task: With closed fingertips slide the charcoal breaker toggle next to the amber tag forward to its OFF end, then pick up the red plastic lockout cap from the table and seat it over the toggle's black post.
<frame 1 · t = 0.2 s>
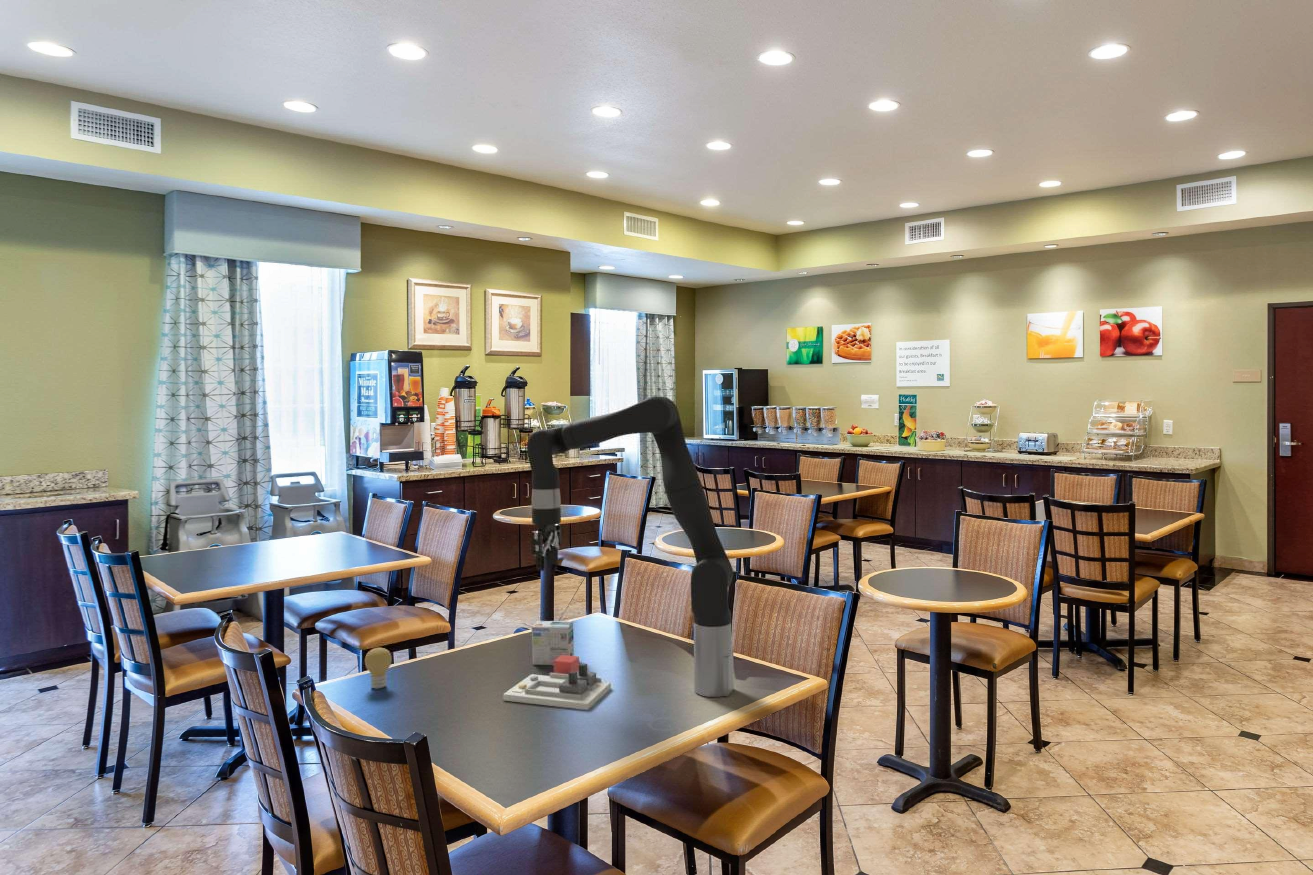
hand: (547, 567, 211), 29 cm above the table, fingers open, 8 cm apart
light bulb box: (553, 662, 223), on the table
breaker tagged: (572, 682, 194), point 4 cm above the table, slide at 0.0 cm
light bulb: (378, 687, 204), on the table
lockout cap: (566, 677, 210), on the table
panel: (558, 694, 198), on the table
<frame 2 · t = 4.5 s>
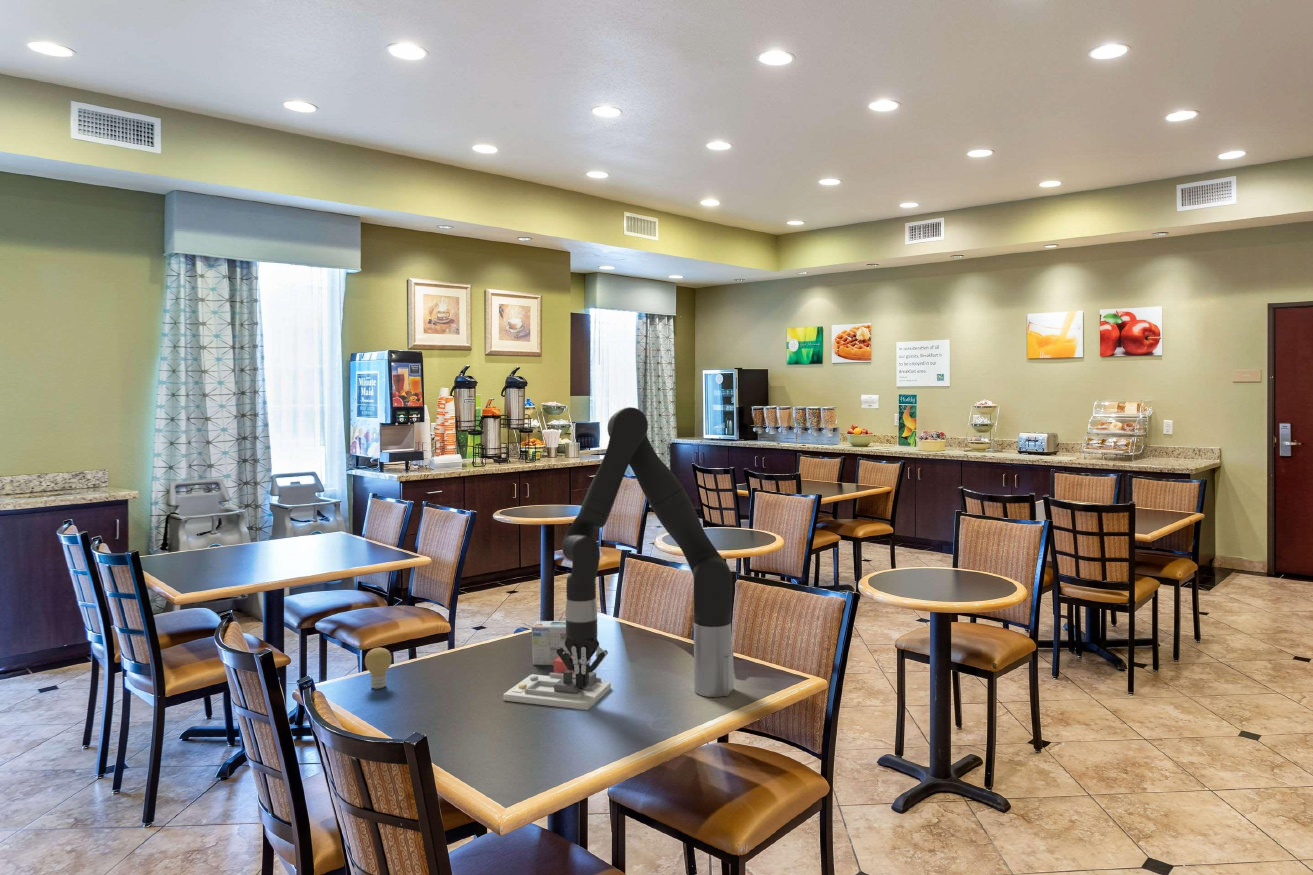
hand: (582, 687, 193), 3 cm above the table, fingers closed
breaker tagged: (567, 681, 195), point 4 cm above the table, slide at 1.4 cm, touching gripper
everything else where it was.
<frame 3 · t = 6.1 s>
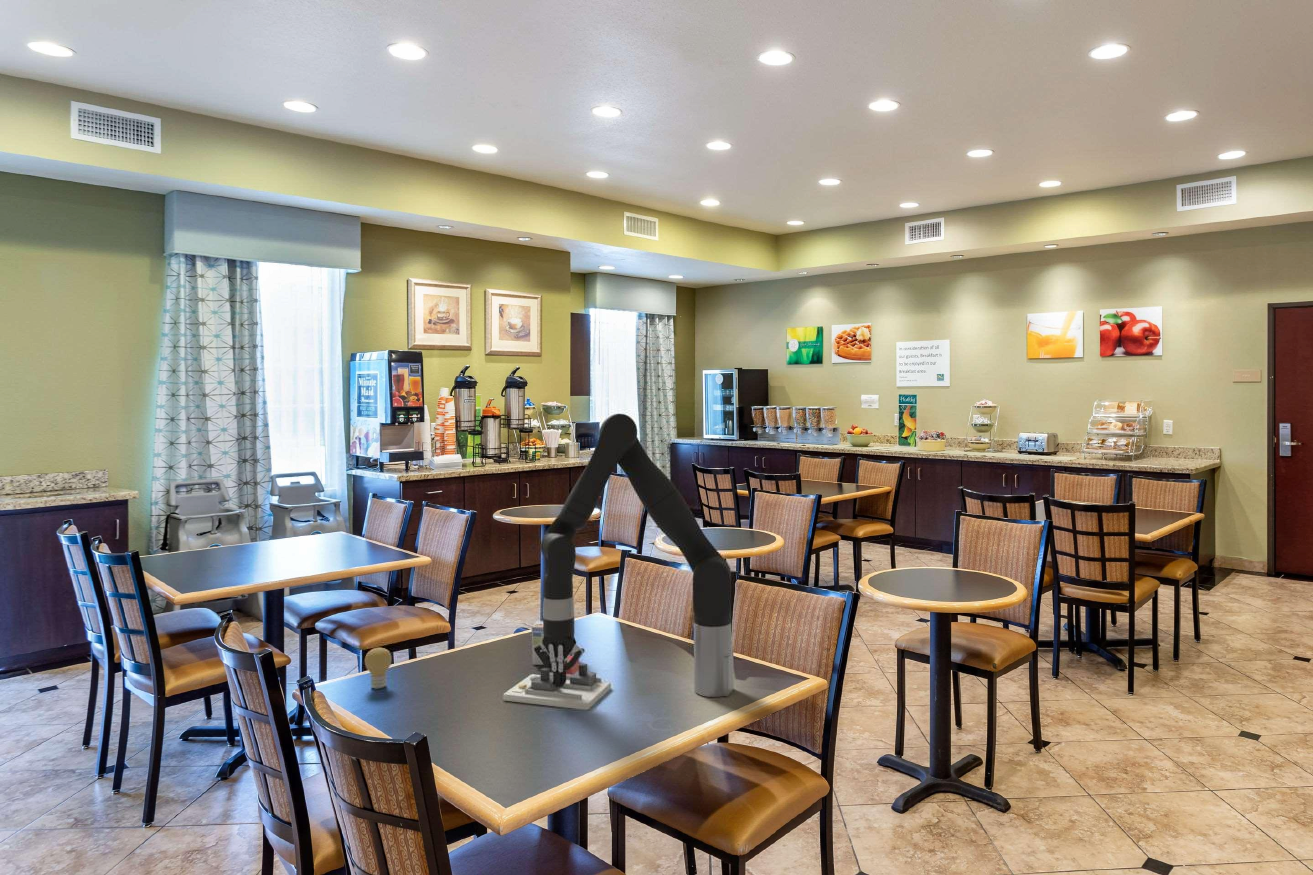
hand: (559, 685, 195), 3 cm above the table, fingers closed
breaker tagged: (545, 679, 197), point 4 cm above the table, slide at 7.4 cm, touching gripper
everything else where it was.
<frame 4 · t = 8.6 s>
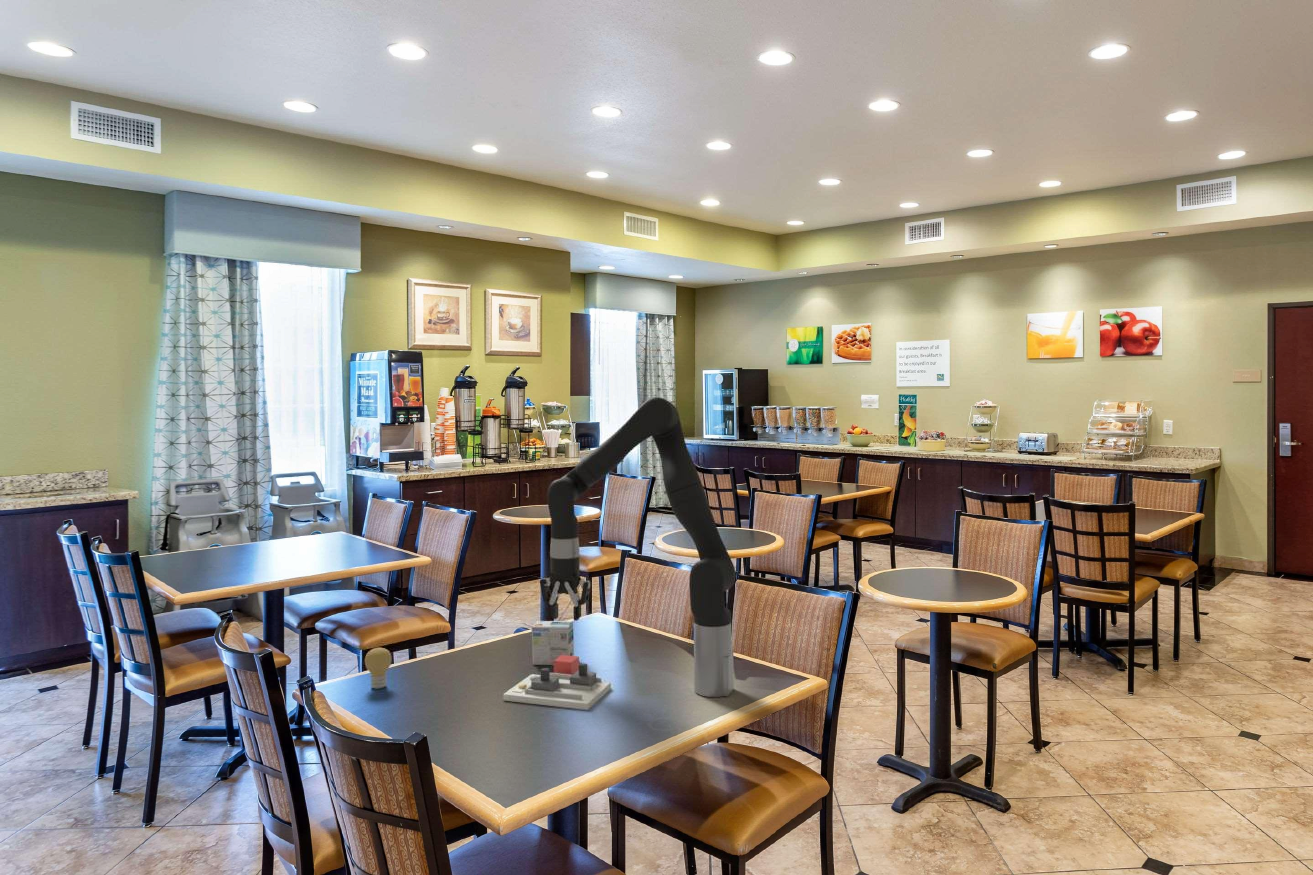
hand: (565, 618, 210), 15 cm above the table, fingers open, 5 cm apart
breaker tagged: (545, 679, 197), point 4 cm above the table, slide at 7.4 cm
everything else where it was.
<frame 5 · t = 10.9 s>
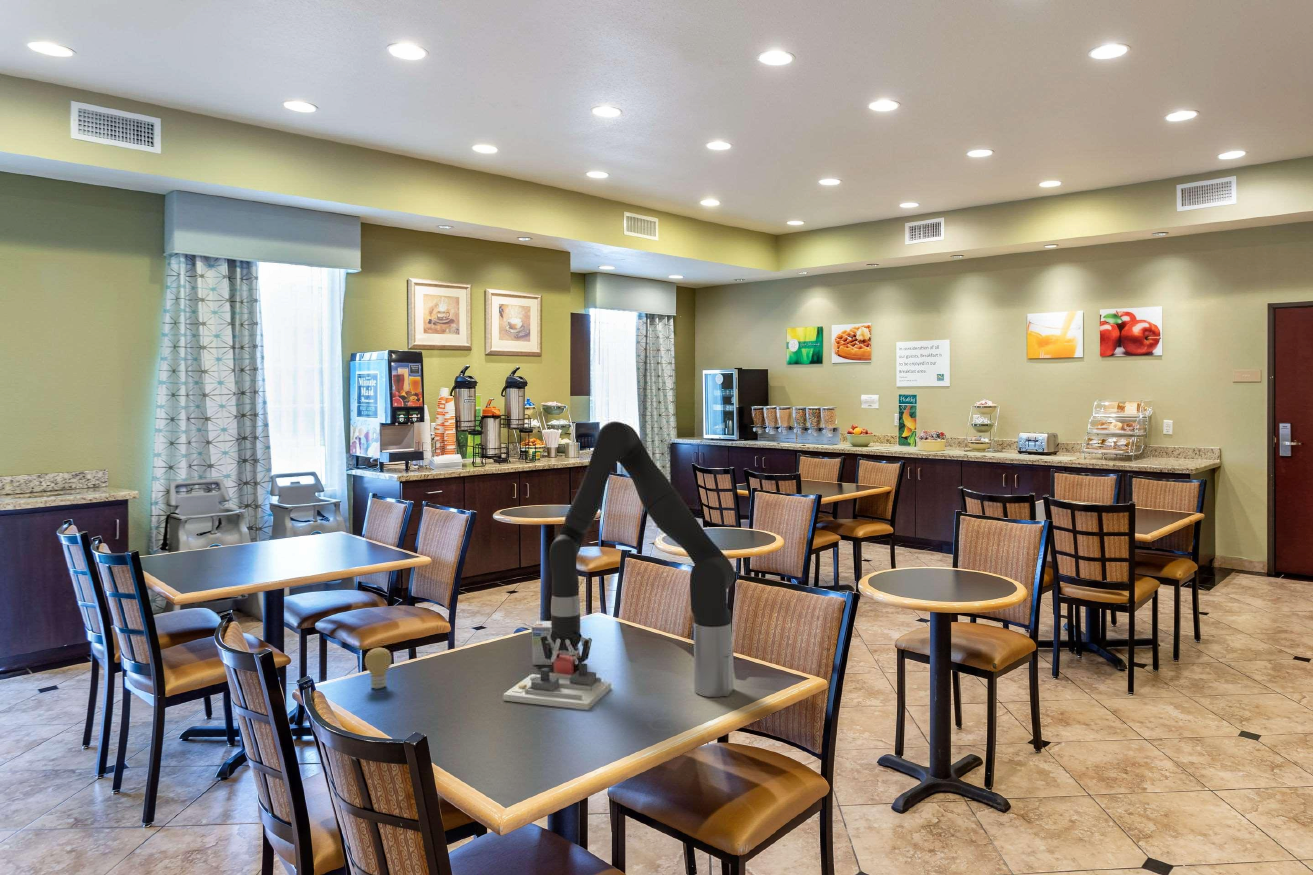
hand: (566, 675, 210), 0 cm above the table, fingers closed on lockout cap, 5 cm apart
lockout cap: (566, 677, 210), on the table, touching gripper
everything else where it was.
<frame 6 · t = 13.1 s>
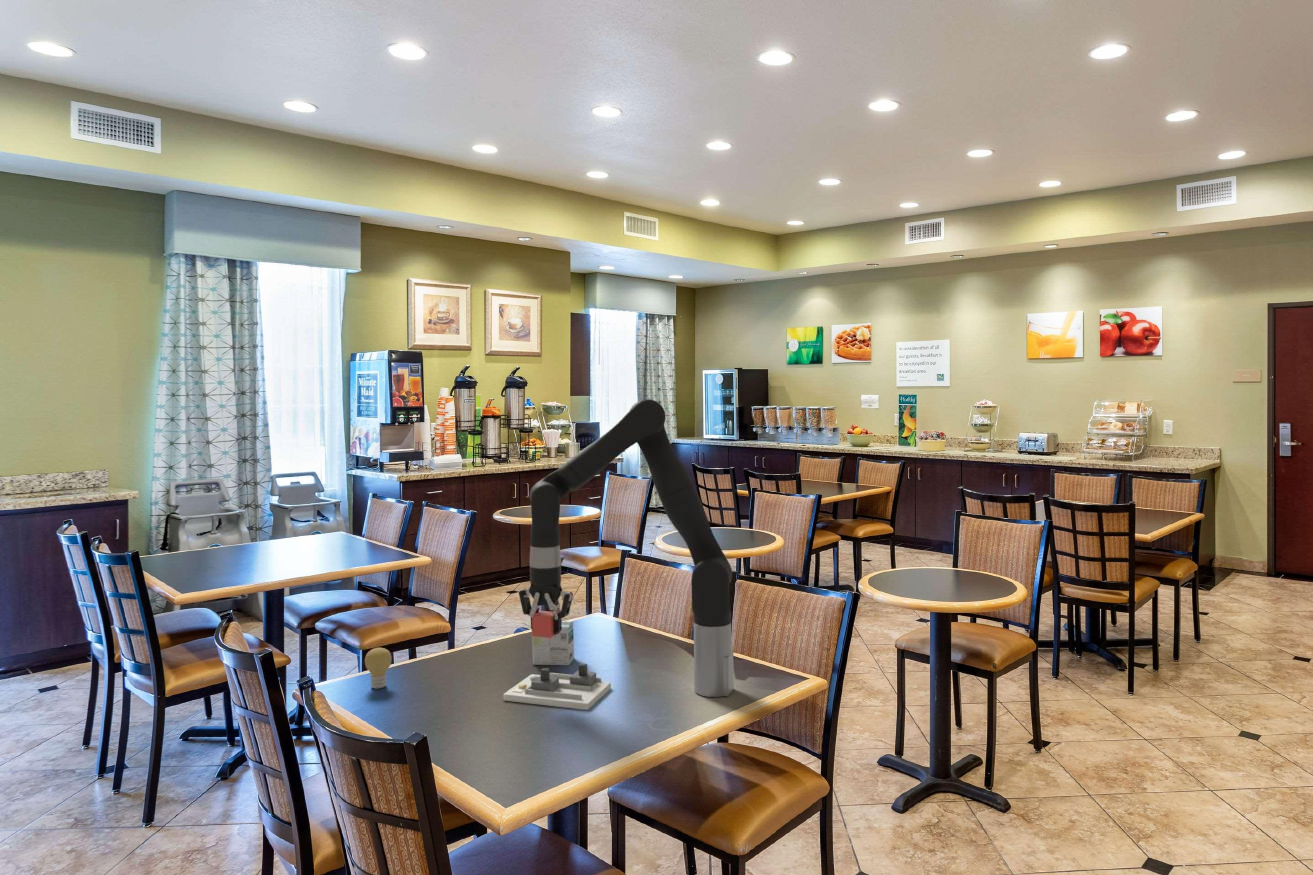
hand: (546, 632, 197), 16 cm above the table, fingers closed on lockout cap, 5 cm apart
lockout cap: (546, 634, 197), point 15 cm above the table, touching gripper
everything else where it was.
when the fingers open (6 cm above the table, at t = 15.4 s): lockout cap drops 1 cm, resting on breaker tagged.
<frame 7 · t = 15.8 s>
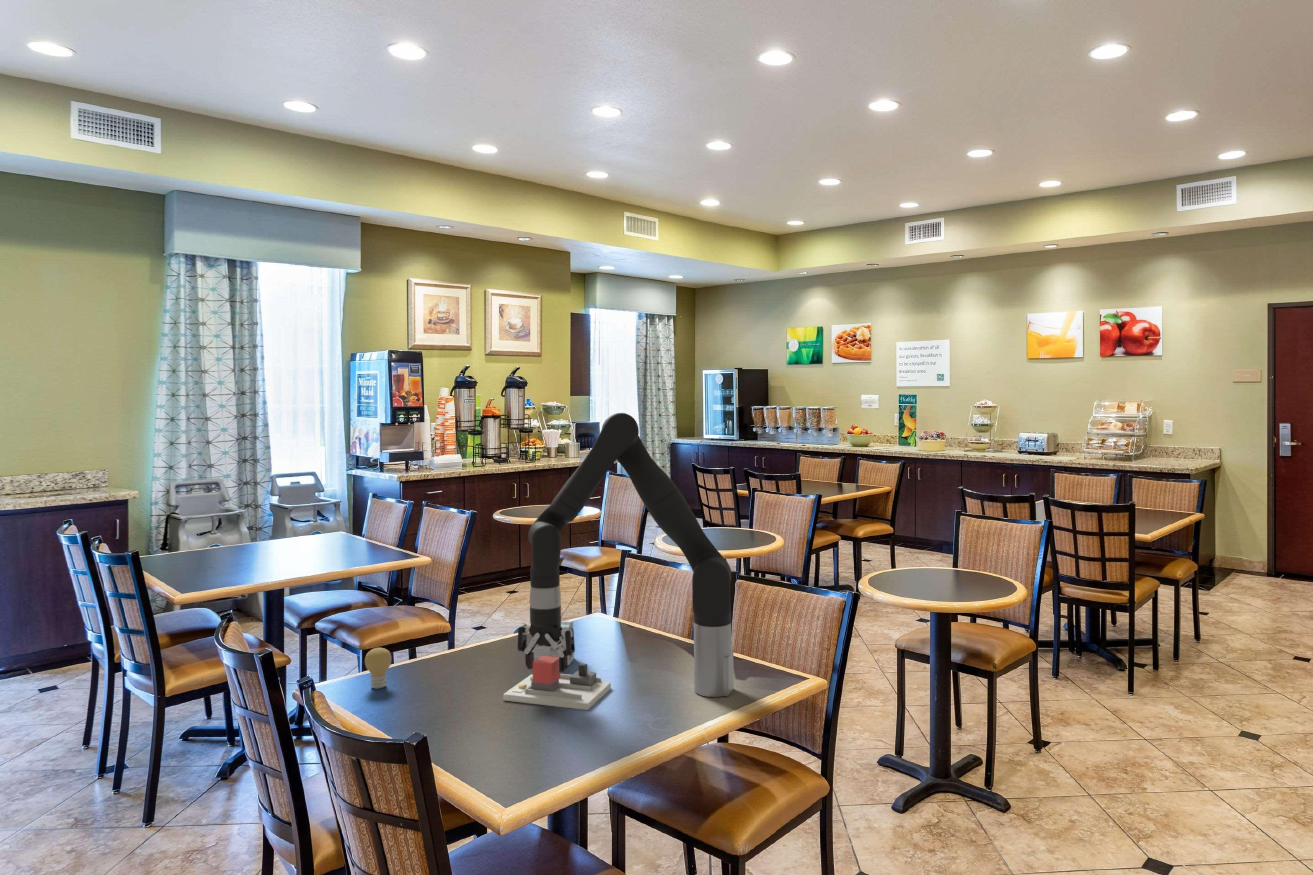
hand: (546, 669, 196), 7 cm above the table, fingers open, 8 cm apart
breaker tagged: (545, 679, 197), point 4 cm above the table, slide at 7.4 cm, touching lockout cap
lockout cap: (546, 679, 196), point 4 cm above the table, touching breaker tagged
everything else where it was.
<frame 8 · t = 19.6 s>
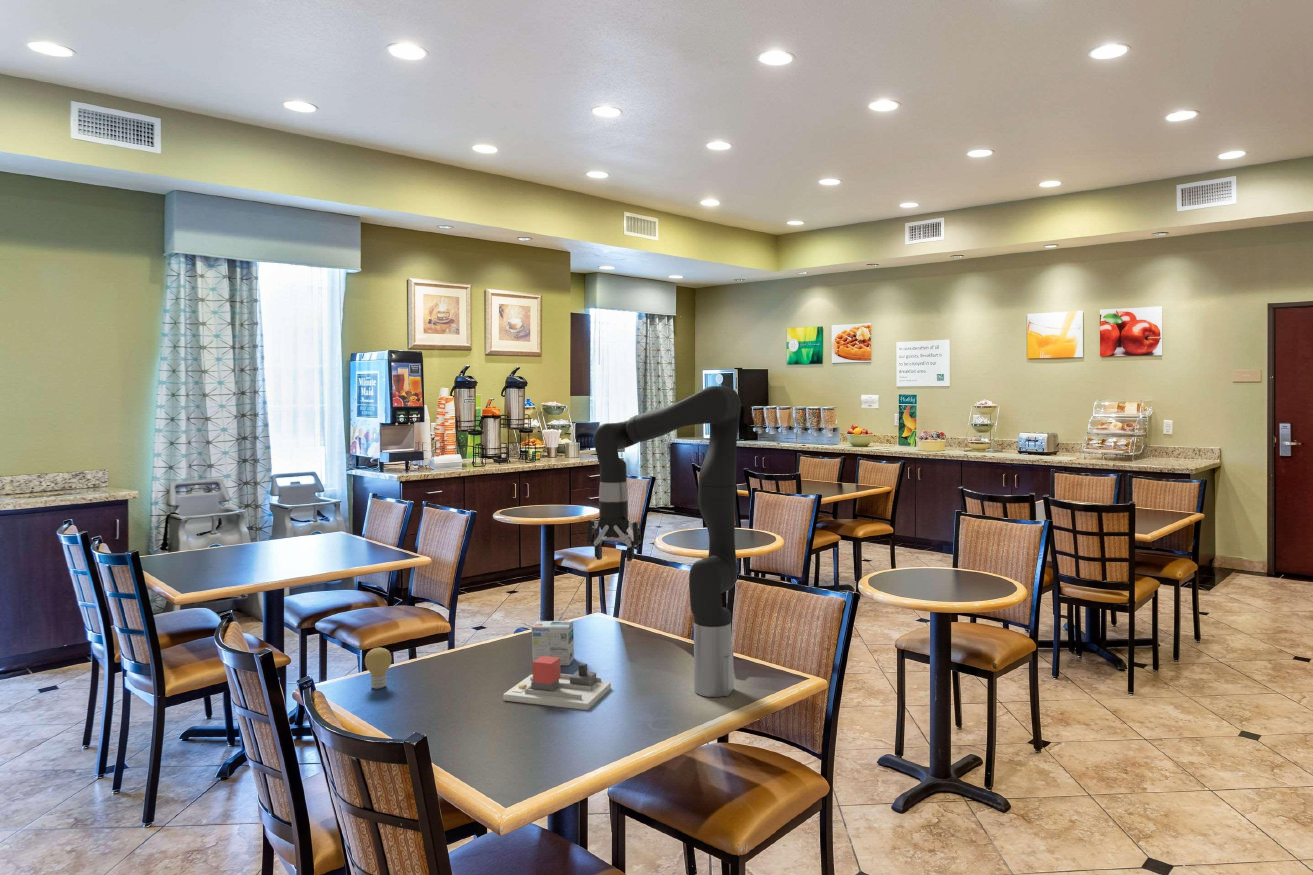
hand: (614, 560, 212), 30 cm above the table, fingers open, 8 cm apart
nothing on the table moved.
at the end: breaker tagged slide at 7.4 cm; lockout cap 0.4 cm off-centre on the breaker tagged, point 2.5 cm above the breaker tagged's base; lockout cap tilted 0° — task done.
